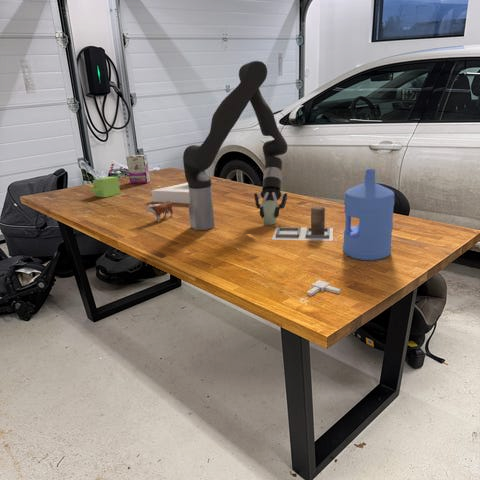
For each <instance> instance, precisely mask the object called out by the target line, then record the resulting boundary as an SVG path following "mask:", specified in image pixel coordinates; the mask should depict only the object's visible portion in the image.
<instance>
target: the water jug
mask: <svg viewBox="0 0 480 480" xmlns="http://www.w3.org/2000/svg"><path fill="white" fill-rule="evenodd" d="M364 171H365V175H364V182H363V183H361V184H358V185H356V186H353V187H351V188H348V189H347V190H346V191H345V192H344V198H343V199H344V200H343V203H344V214H345V220H344V222H345V223H344V224H345V225H344V227H345V228H344V231H343V243H342V249H343V252H344V254H345V255H347V256H348V257H349V258H351V259H356V260H361V261H377V260H378V261H379V260H382V259H383V260H384V259H385V258H387V257H390V254H391V252H392V238H393V237H392V235H393V234H392V233H393V228H394V227H393V225H394V223H393V221H394V220H393V219H394V208H395V207H394V206H395V192H394V190H391V189H390V188H388V187H386V186H384V185H381V184H379V183H376V171H377V170H376V169H372V168H370V169H365V170H364ZM352 218H353V219H354V218H356V219H359V223H358V224H357V225H354V226H353V225H351V224H352V223H351V222H352Z"/></svg>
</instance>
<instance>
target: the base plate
mask: <svg viewBox="0 0 480 480" xmlns="http://www.w3.org/2000/svg"><path fill="white" fill-rule="evenodd" d="M333 239H334V227H325V234H324V235H314V234H311V226H310V227H309V226H307V227H303V226H302V227H301V226H300V227H299V226H276V228H275V230H274V232H273V235H272V238H271V240H272V241H273V240H274V241H276V240H278V241H316V242H317V241H320V242H321V241H322V242H333Z"/></svg>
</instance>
